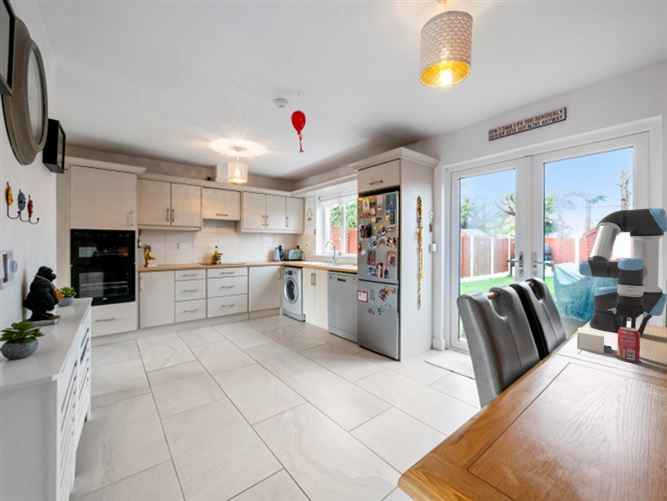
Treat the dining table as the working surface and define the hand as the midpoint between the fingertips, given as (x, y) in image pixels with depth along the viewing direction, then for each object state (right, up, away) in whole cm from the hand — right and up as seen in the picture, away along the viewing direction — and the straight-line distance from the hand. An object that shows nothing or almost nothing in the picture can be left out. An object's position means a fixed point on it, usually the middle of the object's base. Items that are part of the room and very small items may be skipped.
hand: (627, 351), depth 120 cm
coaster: (-6, -1, -6) cm, 9 cm away
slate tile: (-7, -2, +6) cm, 10 cm away
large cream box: (-9, -1, +8) cm, 12 cm away
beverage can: (-6, -1, -6) cm, 9 cm away
